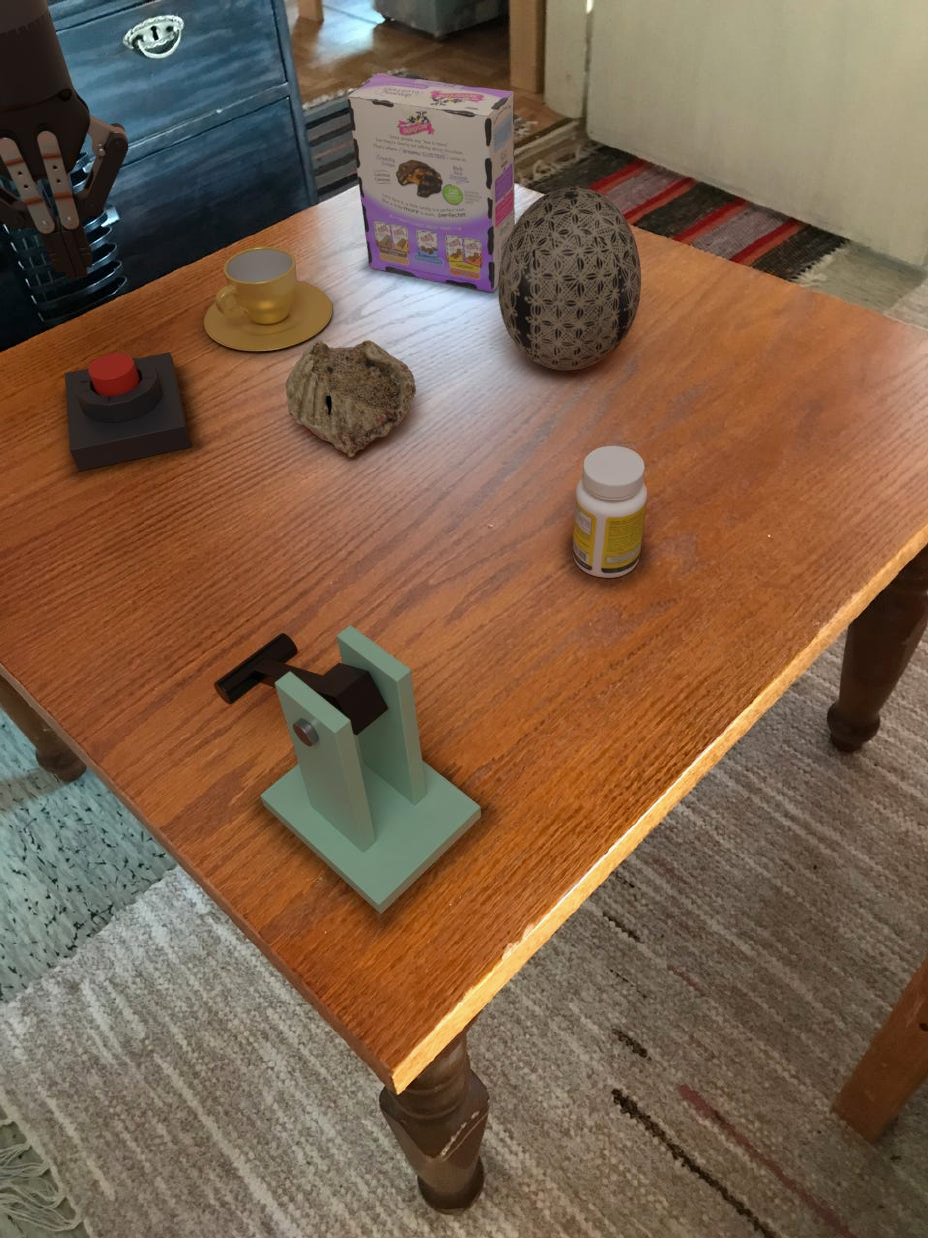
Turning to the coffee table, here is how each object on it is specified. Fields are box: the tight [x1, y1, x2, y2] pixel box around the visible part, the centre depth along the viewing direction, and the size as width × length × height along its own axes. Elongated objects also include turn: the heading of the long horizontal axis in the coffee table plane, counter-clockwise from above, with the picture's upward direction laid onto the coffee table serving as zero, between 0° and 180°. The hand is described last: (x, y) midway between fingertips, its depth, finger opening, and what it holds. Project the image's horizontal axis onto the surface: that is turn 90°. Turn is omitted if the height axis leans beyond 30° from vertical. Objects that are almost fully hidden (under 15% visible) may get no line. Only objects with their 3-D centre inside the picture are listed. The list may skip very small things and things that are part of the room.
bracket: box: [259, 624, 482, 915], centre depth 52 cm, size 10×8×13 cm
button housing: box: [64, 351, 192, 472], centre depth 81 cm, size 11×9×4 cm
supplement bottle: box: [572, 445, 648, 579], centre depth 67 cm, size 5×5×8 cm
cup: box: [203, 245, 334, 352], centre depth 90 cm, size 12×12×5 cm
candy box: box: [347, 72, 516, 293], centre depth 91 cm, size 14×6×16 cm, turn 65°
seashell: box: [285, 339, 417, 458], centre depth 79 cm, size 11×7×10 cm
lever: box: [213, 632, 389, 736], centre depth 52 cm, size 12×5×2 cm, turn 47°
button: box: [87, 352, 139, 396], centre depth 79 cm, size 4×4×2 cm
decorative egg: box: [497, 186, 642, 371], centre depth 80 cm, size 12×12×15 cm
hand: (77, 272), depth 73 cm, fingers closed
